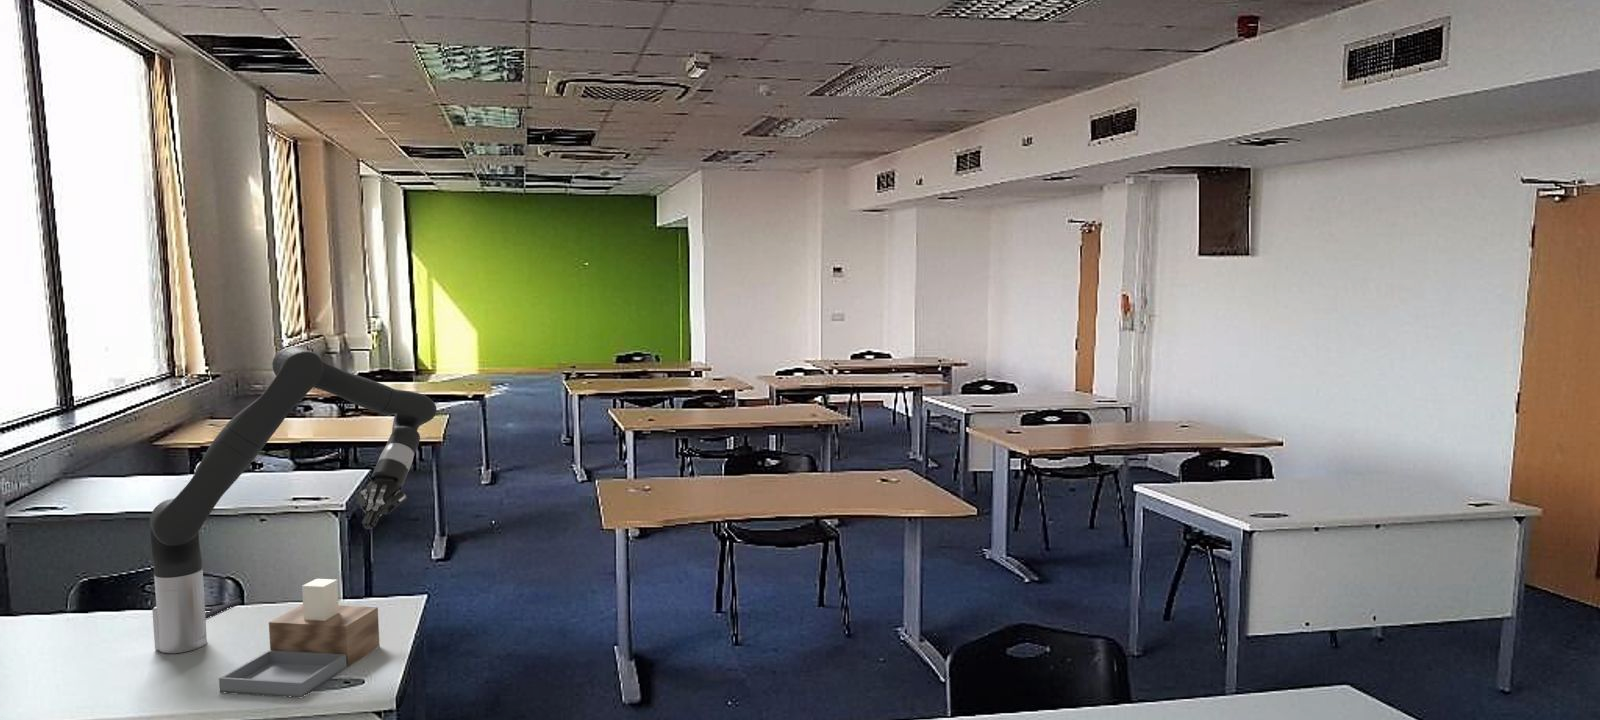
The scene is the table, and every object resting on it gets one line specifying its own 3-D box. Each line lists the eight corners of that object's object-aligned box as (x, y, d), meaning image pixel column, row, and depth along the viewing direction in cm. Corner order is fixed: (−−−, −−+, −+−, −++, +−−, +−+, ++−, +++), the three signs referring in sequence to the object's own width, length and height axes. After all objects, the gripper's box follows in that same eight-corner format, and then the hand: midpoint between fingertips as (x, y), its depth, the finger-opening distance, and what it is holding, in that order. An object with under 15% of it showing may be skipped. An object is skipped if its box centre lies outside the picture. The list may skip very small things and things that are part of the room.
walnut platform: (271, 662, 218) (268, 622, 217) (306, 642, 230) (304, 603, 229) (348, 667, 215) (346, 626, 214) (379, 646, 227) (377, 607, 226)
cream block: (303, 619, 219) (302, 585, 218) (318, 611, 223) (316, 578, 223) (325, 620, 218) (323, 586, 217) (338, 612, 223) (337, 579, 222)
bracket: (191, 602, 260) (190, 591, 260) (242, 605, 257) (241, 594, 257) (145, 621, 246) (144, 610, 245) (198, 625, 243) (198, 614, 243)
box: (219, 692, 203) (218, 678, 202) (269, 663, 217) (268, 650, 217) (302, 698, 200) (301, 683, 200) (346, 668, 215) (346, 654, 214)
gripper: (361, 456, 247) (334, 518, 236) (412, 457, 245) (386, 520, 234) (375, 473, 253) (348, 534, 242) (424, 475, 251) (400, 536, 240)
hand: (367, 527), depth 238 cm, fingers closed
